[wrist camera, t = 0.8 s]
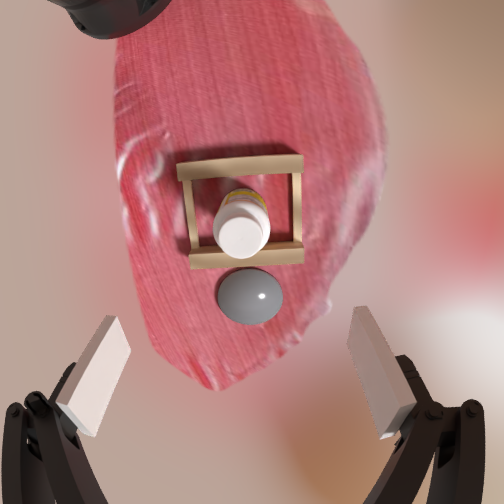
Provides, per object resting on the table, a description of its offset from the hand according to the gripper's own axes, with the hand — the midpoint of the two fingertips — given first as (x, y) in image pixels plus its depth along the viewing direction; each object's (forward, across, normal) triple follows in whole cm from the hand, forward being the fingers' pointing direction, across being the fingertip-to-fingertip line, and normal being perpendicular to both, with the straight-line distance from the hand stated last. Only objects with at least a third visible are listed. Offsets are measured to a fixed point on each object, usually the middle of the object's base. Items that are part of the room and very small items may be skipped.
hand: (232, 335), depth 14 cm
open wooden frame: (+22, 0, +1) cm, 22 cm away
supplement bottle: (+22, 0, +1) cm, 22 cm away
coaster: (+21, 0, -12) cm, 24 cm away
